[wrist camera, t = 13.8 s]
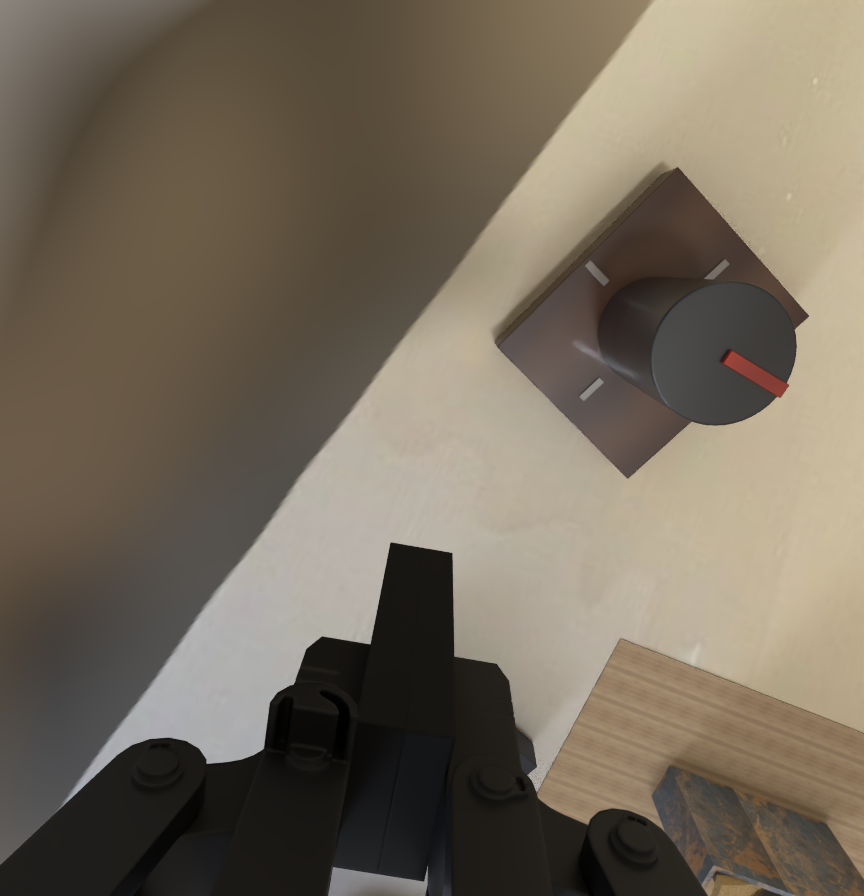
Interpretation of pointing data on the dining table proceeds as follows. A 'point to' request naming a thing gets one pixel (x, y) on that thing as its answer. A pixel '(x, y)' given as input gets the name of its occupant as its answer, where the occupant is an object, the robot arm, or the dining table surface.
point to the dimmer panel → (593, 286)
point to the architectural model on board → (719, 777)
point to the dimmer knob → (700, 345)
